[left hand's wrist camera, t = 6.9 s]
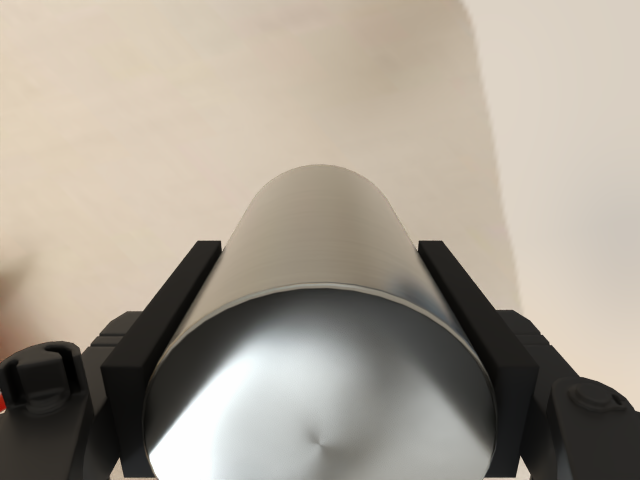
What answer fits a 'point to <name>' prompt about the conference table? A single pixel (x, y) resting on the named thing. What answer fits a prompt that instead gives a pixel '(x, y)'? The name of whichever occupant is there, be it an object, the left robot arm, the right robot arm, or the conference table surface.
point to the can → (319, 352)
